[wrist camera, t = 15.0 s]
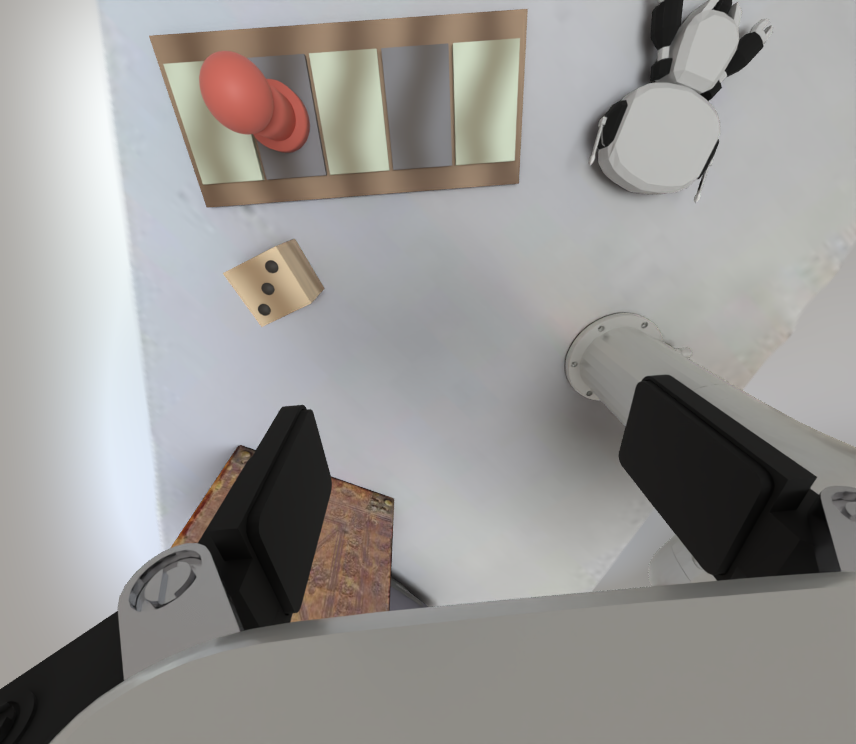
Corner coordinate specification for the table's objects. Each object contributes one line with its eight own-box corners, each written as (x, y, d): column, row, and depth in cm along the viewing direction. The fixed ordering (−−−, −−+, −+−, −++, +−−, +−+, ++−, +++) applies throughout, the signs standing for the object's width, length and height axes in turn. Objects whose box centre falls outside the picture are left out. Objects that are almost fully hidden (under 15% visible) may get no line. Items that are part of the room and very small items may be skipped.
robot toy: (639, -13, 30) (568, 175, 35) (677, -51, 26) (590, 169, 31) (750, 39, 32) (667, 210, 37) (802, 12, 28) (700, 208, 33)
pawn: (302, 83, 30) (249, 28, 20) (315, 150, 32) (273, 131, 22) (245, 87, 30) (164, 35, 20) (262, 154, 32) (197, 137, 22)
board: (524, 13, 30) (529, 5, 28) (516, 183, 36) (520, 183, 34) (155, 39, 29) (144, 32, 28) (210, 207, 35) (203, 207, 34)
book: (223, 485, 53) (37, 776, 27) (239, 443, 50) (43, 732, 23) (371, 531, 60) (342, 800, 33) (395, 498, 56) (382, 769, 30)
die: (294, 238, 37) (275, 246, 32) (324, 288, 40) (310, 303, 34) (248, 262, 38) (222, 273, 32) (280, 309, 41) (261, 327, 35)
